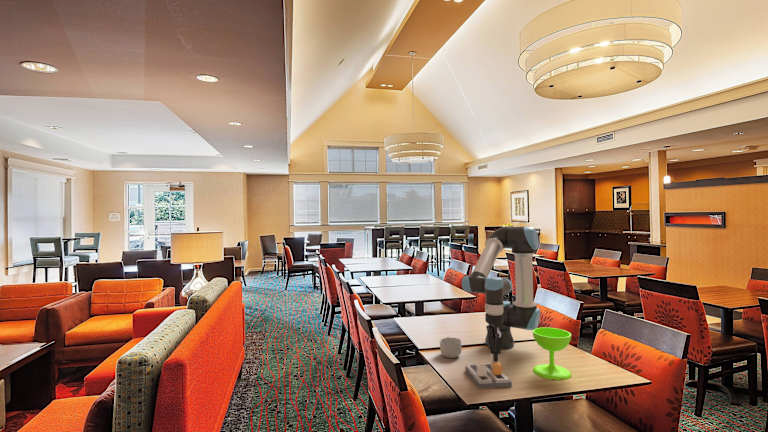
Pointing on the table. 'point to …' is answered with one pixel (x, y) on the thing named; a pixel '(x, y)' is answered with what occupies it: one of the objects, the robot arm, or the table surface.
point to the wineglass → (551, 351)
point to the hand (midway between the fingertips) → (494, 367)
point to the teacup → (450, 347)
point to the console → (487, 377)
